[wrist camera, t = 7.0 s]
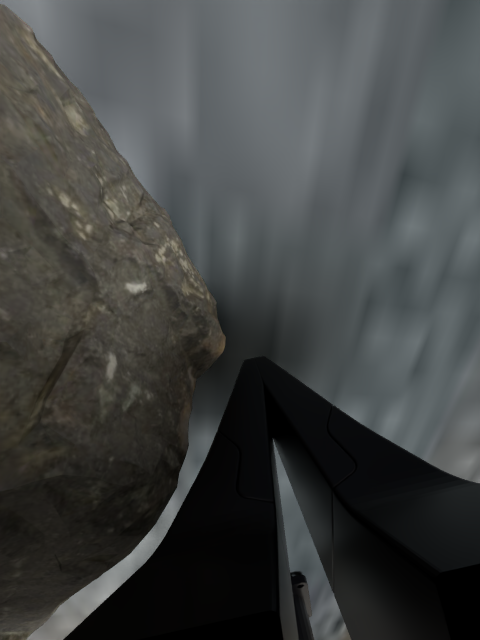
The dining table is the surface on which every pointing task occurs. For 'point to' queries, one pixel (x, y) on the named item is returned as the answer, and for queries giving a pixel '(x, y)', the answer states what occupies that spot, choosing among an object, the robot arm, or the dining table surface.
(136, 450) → the rock
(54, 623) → the dining table surface
